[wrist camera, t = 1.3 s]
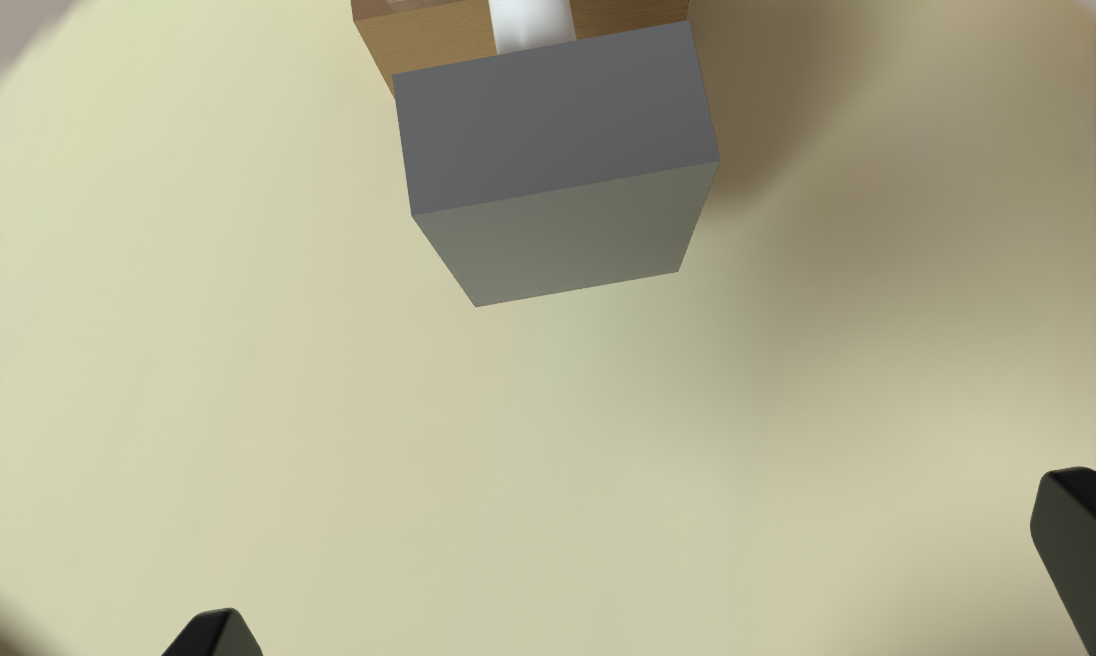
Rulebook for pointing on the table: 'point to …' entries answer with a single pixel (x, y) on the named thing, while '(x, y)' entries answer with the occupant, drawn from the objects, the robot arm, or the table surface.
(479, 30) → the grey brown block
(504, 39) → the plunger
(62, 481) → the table surface
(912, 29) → the table surface
